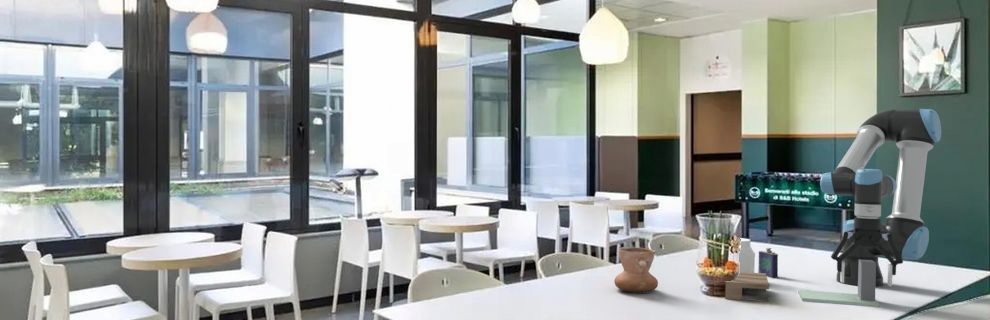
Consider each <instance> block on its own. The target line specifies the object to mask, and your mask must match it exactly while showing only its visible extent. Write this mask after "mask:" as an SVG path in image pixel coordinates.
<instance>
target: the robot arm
mask: <svg viewBox="0 0 990 320" xmlns="http://www.w3.org/2000/svg"><path fill="white" fill-rule="evenodd" d="M941 138H942V125H941V119H940V116H939V114H938V112H937V111H936V110H934V109H931V108H917V109H916V108H915V109H911V108H909V109H887V110H882V111H880V112H878V113H875V114H873V116H870V117H869V118H868V119H866V120H864V122H863V123H862V124H861V125H860V126H859V127H858V129H857V131H856V138H855V139H854V140H853V142H852V144H851V146H850V147H849V148H848V150H847V151H846V153H845V154H844V156H843V158H842V159H841V160H840V162H839V163H838V165H837V167H836V168H835V169H834V171H833V172H831V171H830V172H824V173H822V175H821V177H820V180H819V185H820V190H821V192H822V193H823V194H825V195H833V196H849V197H850V196H852V197H854V216H855V217H854V218H853V219H848V220H845V221H844V222H843V228H842V231H841V233H842V236H841V239H840V240H839V242H838V244H837V245H836V247H835V249H834V251H833V252H832V254H830V258H831V259H832V260H834V261H836V271H837V273H836V281H837V282H838V283H842V284H845V285H853V286H858V264H859V259H860V260H873V261H874V262H875V263H876V286H875V287H879V286H883V285H884V276H883V273H882V270H881V267H880V264H879V256H880V257H885V258H886V259H887V261H889V263H888V264H887V284H886V285H888V286H889V287H893V276H896V274H897V265H900V264H903V263H904V260H913V261H914V260H920V259H921V258H922V257H923V256H924V254H925V253H926V251H927V248H928V246H929V241H930V231H929V228H928V227H926V226H925V222H924V221H923V219H922V218H921V209H922V203H923V192H924V185H925V176H926V169H927V168H926V167H927V161H928V160H927V159H928V152H929V151H931V150H933V148H934V145H935V143H938V142H940V141H941ZM885 142H895V145H896V147H897V148H898V149H899V154H898V164H897V170H896V179H894V178H893V177H892V176H891V175H890V174H889V175H888V174H886V173H885V174H884V173H883V172H882V169H879V168H865V167H866V166H867V165H868V162H869V161H870V159H871V158H872V156H873V155H874V154H875V151H876V149H877V148H879V147H881V146H882V145H883V144H884V143H885ZM890 196H893V202H892V209H891V214H889V215H888V216H886V217H885V223H883V222H882V219H881V218H880V217H881V216H882V198H883V199H885V198H888V197H890ZM841 250H842V253H841ZM894 258H895V259H894Z"/></svg>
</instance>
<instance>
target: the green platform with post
mask: <svg viewBox="0 0 990 320" xmlns="http://www.w3.org/2000/svg"><path fill="white" fill-rule="evenodd" d="M876 287H877V286H876V263H875V262H874V261H873V260H860V259H859V264H858V285H857V293H849V292H848V293H846V292H845V293H844V292H831V291H817V290H805V289H803V290H802V289H798V291H797V292H798V295H799V298H800V300H801V301H802V302H811V303H821V304H822V303H825V304H838V305H849V306H850V305H852V306H865V307H877V308H878V307H879V308H880V303H879V302H878V301H877V299H876Z"/></svg>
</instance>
